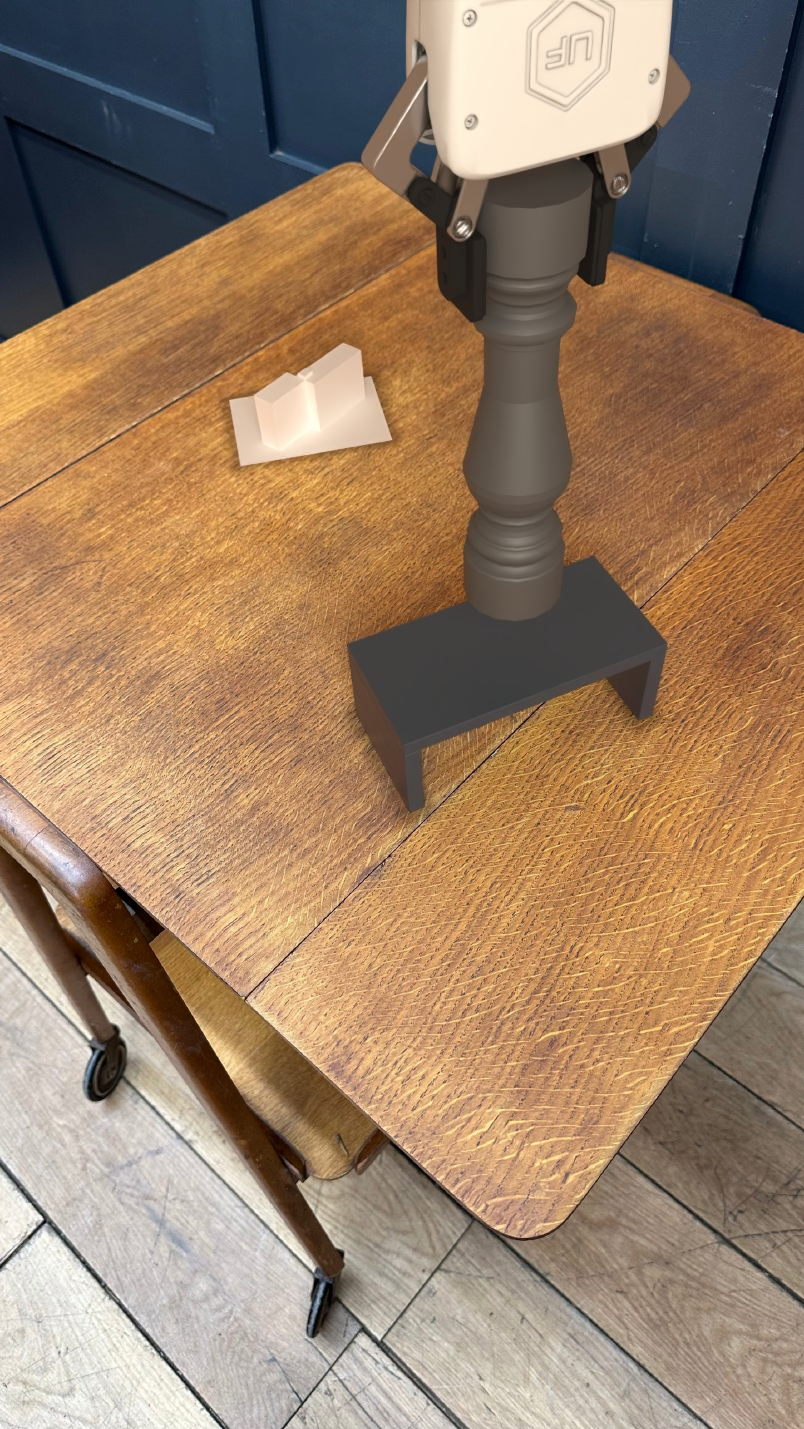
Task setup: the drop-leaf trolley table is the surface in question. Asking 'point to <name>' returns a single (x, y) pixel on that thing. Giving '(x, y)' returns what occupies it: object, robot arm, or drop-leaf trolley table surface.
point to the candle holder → (523, 389)
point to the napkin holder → (310, 411)
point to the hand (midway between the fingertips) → (524, 287)
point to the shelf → (498, 668)
